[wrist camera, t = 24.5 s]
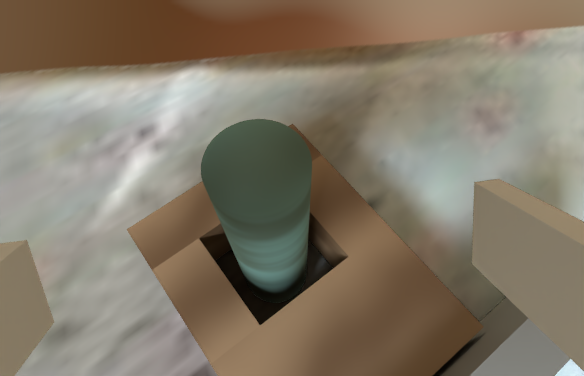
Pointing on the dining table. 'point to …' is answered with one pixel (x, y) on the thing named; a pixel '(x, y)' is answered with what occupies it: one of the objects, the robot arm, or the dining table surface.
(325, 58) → the dining table surface
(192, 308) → the socket block
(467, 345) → the wall
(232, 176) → the dowel
